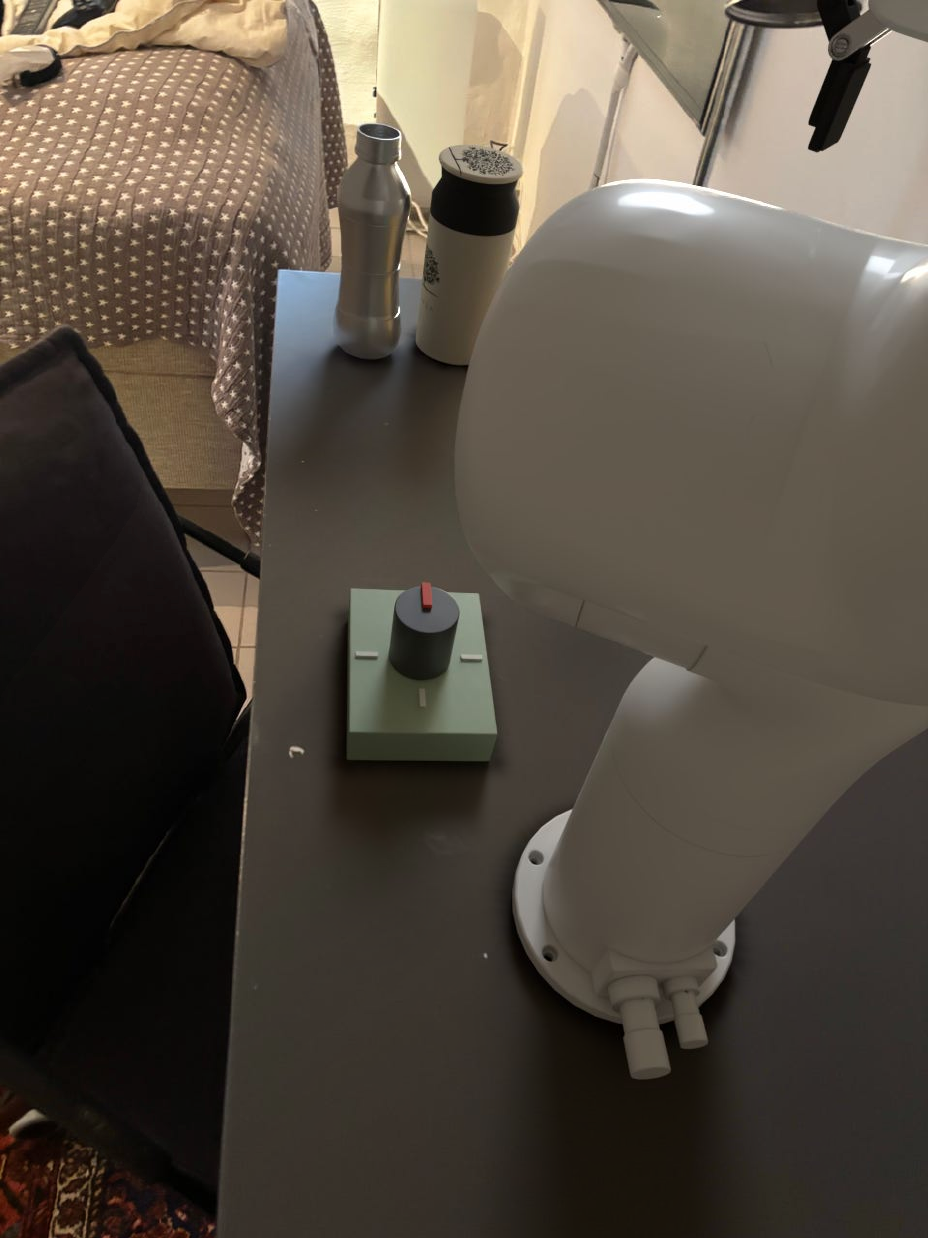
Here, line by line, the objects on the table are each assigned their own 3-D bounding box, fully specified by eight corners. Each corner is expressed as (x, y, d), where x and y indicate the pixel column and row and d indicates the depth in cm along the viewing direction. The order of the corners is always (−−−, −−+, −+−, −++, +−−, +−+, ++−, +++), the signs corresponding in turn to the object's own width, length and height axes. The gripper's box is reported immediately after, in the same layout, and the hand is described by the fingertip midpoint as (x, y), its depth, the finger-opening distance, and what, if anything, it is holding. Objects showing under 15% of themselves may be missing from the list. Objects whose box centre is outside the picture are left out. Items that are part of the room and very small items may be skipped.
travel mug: (489, 330, 92) (521, 149, 79) (495, 371, 87) (531, 184, 74) (414, 322, 91) (434, 137, 78) (416, 364, 86) (438, 172, 73)
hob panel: (489, 761, 55) (498, 732, 53) (346, 760, 54) (348, 730, 52) (472, 621, 63) (479, 591, 61) (347, 617, 62) (349, 586, 60)
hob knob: (452, 681, 56) (463, 631, 52) (389, 679, 55) (395, 628, 51) (448, 634, 58) (457, 583, 55) (387, 632, 58) (393, 580, 54)
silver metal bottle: (374, 375, 83) (391, 153, 69) (317, 348, 85) (322, 126, 71) (412, 350, 88) (435, 135, 73) (357, 325, 89) (369, 110, 75)
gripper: (892, -352, 33) (729, 135, 45) (1418, -269, 27) (1069, 262, 40) (943, -325, 38) (782, 111, 50) (1403, -249, 32) (1094, 222, 44)
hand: (909, 178), depth 45 cm, fingers open, 9 cm apart
